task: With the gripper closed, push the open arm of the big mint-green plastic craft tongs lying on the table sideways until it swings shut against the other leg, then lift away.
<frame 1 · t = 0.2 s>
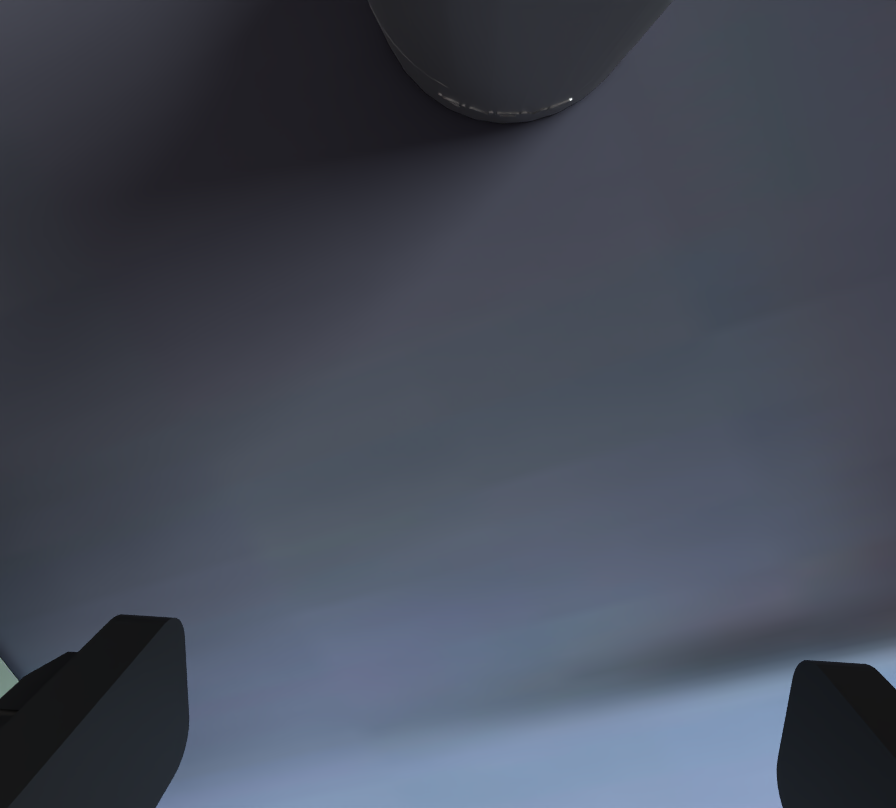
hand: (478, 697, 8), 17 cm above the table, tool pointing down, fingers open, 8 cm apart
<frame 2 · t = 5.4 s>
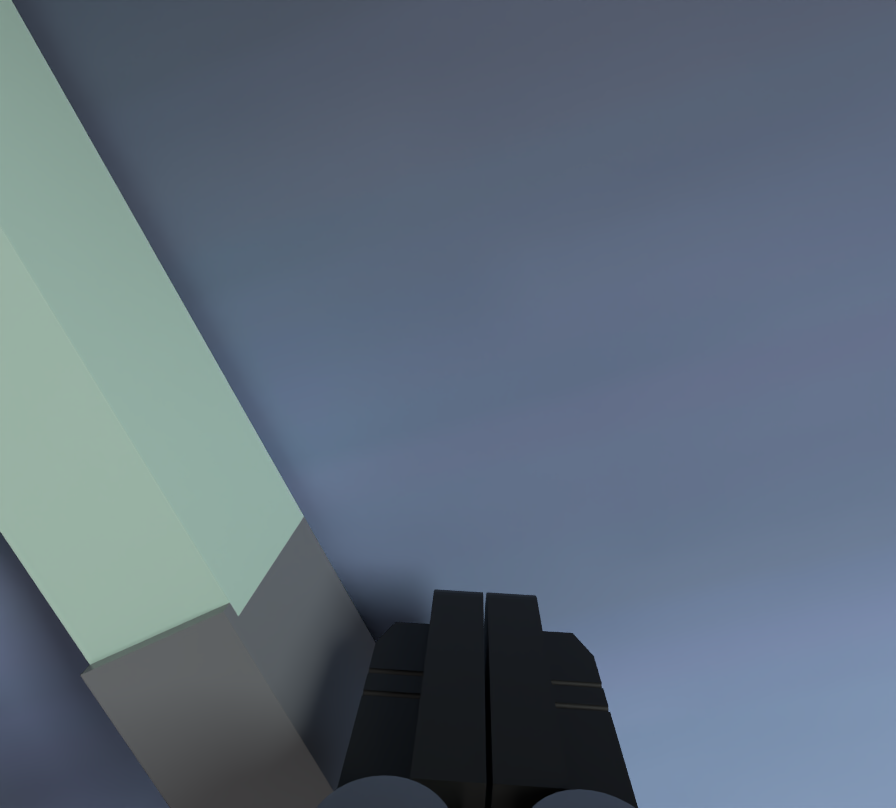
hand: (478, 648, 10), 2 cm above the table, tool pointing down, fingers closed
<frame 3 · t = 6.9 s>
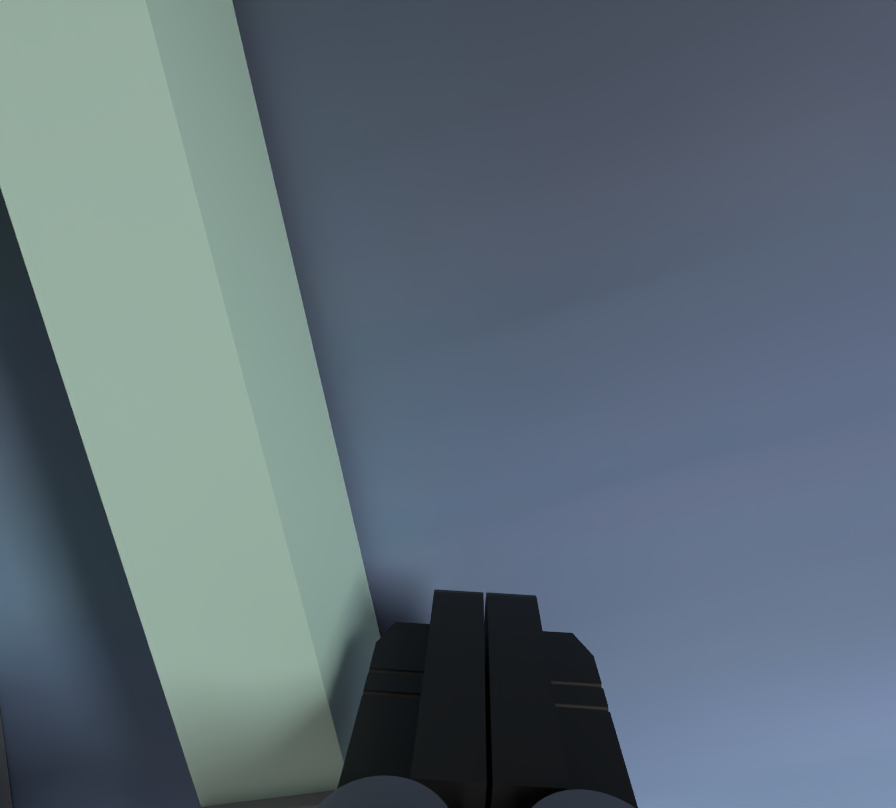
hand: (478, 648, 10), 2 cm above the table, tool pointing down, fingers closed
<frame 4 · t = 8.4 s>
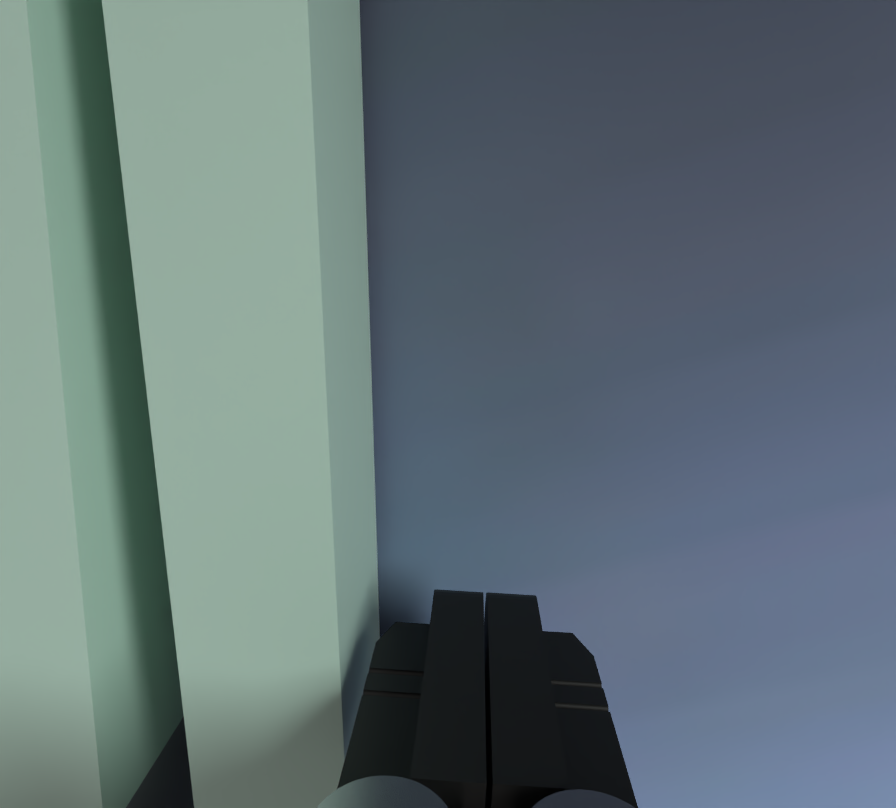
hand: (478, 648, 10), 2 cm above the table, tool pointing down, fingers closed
tongs arm: (95, 160, 7), point 3 cm above the table, hinge at 2.9°, touching gripper
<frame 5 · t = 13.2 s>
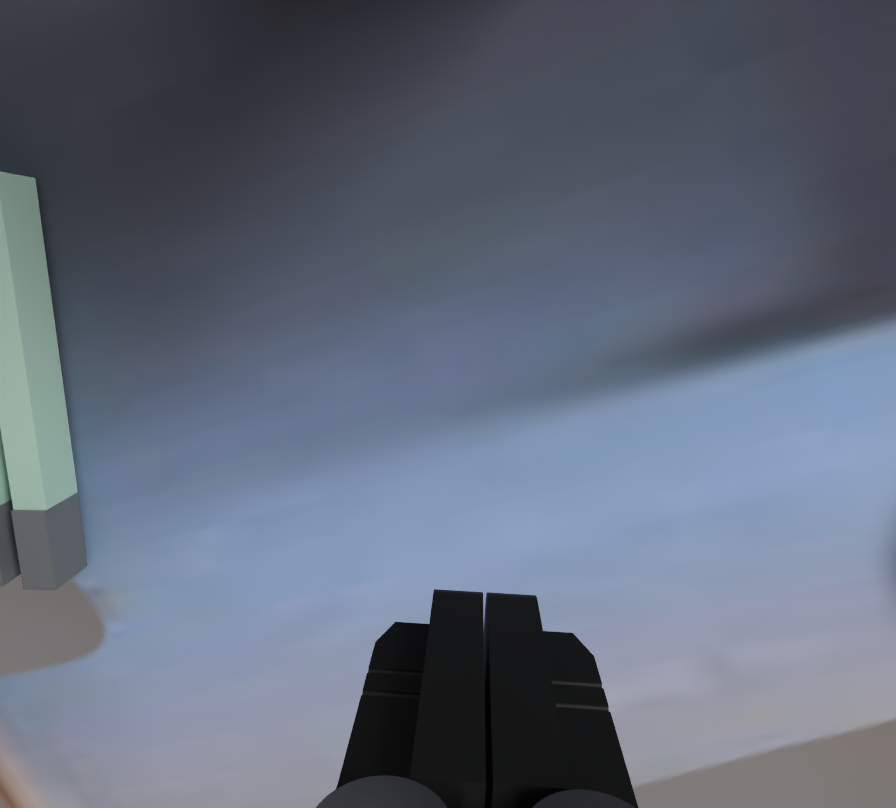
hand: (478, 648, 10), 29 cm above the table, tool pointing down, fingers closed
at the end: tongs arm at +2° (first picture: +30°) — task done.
